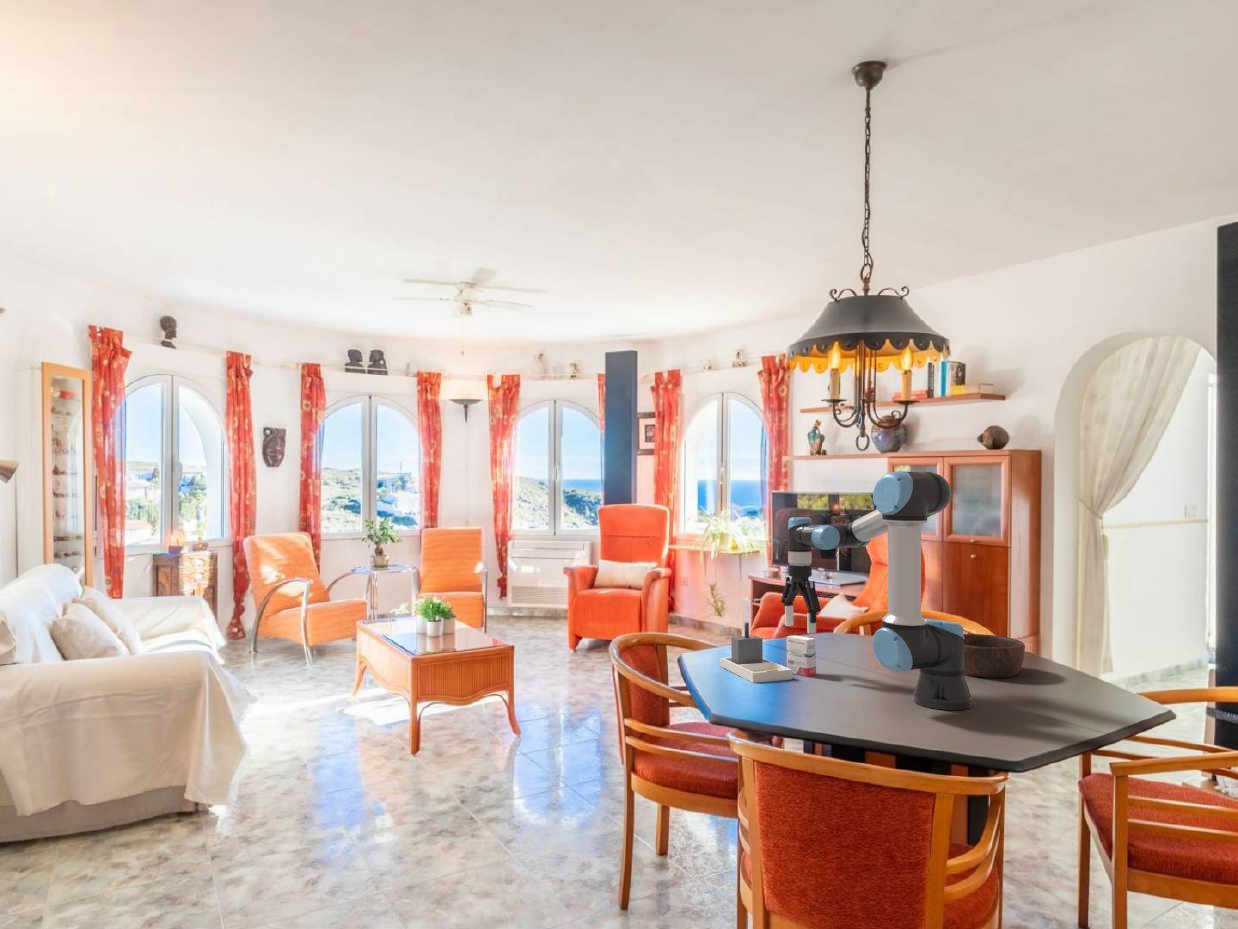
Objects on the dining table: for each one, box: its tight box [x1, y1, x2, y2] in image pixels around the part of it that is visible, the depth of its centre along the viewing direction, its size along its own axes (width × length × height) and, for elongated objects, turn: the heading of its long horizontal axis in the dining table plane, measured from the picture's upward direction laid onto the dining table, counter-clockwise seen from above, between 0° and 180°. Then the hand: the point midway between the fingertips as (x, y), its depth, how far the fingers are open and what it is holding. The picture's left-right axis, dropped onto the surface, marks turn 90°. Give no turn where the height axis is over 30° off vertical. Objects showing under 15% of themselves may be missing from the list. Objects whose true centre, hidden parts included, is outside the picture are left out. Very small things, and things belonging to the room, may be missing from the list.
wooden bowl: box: [964, 633, 1026, 679], centre depth 253 cm, size 25×25×10 cm
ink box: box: [786, 634, 817, 678], centre depth 251 cm, size 8×5×12 cm, turn 39°
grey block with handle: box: [730, 621, 764, 665], centre depth 257 cm, size 5×9×15 cm, turn 108°
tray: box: [719, 656, 793, 683], centre depth 251 cm, size 23×14×3 cm, turn 18°
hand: (800, 629), depth 251 cm, fingers open, 13 cm apart
